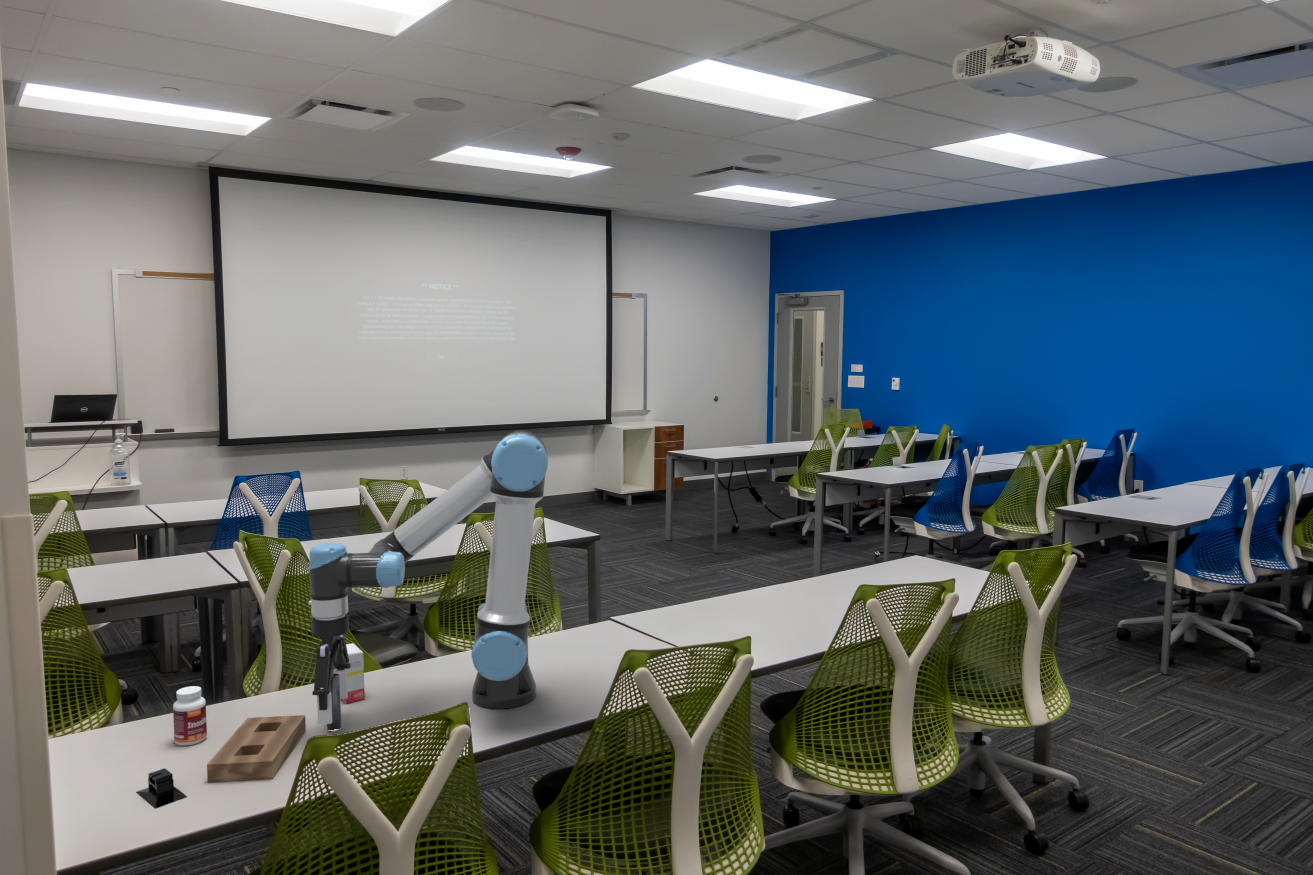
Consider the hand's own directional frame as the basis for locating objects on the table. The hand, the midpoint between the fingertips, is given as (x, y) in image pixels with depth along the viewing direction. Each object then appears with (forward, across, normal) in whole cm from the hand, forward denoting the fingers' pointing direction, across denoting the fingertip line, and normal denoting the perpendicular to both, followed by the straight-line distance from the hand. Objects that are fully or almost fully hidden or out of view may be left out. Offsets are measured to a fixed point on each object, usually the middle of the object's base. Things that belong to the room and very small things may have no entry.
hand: (333, 710), depth 189 cm
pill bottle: (+4, +2, -29) cm, 29 cm away
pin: (+4, 0, 0) cm, 4 cm away
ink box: (+4, -19, -1) cm, 20 cm away
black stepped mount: (+5, +26, -25) cm, 36 cm away
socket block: (+4, +11, -12) cm, 17 cm away
